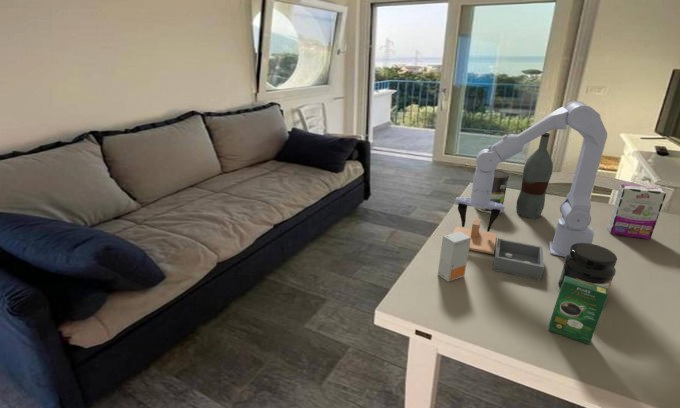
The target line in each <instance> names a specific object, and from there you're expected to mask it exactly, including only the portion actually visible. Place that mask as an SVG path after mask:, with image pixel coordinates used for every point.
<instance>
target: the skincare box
mask: <svg viewBox="0 0 680 408" xmlns="http://www.w3.org/2000/svg"><path fill="white" fill-rule="evenodd" d="M470 241H471V238H470V237H469V236H467V235H465V234H463V233H462V232H457V233H453V232H452V233H450V234H447V235H443V236H442V241H441V247H440V248H441V249H440V256H439V263H438V270H437V275H438V276H439V277H440V278H442V279H444V280H445V281H446V282H448V283H449V282H452V281H455V280H459V279H461V278H464V277H465V274H466V269H467V268H466V267H467V263H468V257H469V252H470V249H469V246H470Z"/></svg>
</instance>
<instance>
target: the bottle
mask: <svg viewBox="0 0 680 408" xmlns="http://www.w3.org/2000/svg"><path fill="white" fill-rule="evenodd" d="M550 135H551V133H549V132H547V133H545V134H543V135H541V136H540V141H539V144H538V148H537V149H536V150H535V151H534V152H533V153H532V154H531V155H530V156H529V157H528V158H527V159H526V162H525V164H524V167H523V171H522V179H521V181H522V182H521V186H520V187H521V189H520V192H519V194H518V197H517V200H516V207H515V208H516V210H515V211H516V213H517V214H518V215H519V216H521V217H524V218H528V219H536V218H539V217H540V216H541V215H542V213H543V210H544V208H545V204H546V203H545V202H546V192H547V189H548V186H549V183H550V180H551V177H552V175H553V168H554V166H553V165H554V164H553V161H552V160H553V159H552V158H551V155H550V153H549V152H548V145H549V140H550Z"/></svg>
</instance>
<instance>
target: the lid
mask: <svg viewBox="0 0 680 408" xmlns="http://www.w3.org/2000/svg"><path fill="white" fill-rule="evenodd" d="M481 221H482V219H481V218H477V217H474V219H473V222H472V225H471V226H472V227H471V228H466V227H462V226H461V227H460V226H455V227H454V230H453V232H452V233H457V232H462V233H463V234H465V235H467V236H469V237H470V238H471V241H470V246H469V251H475V252H480V253H484V254H489V255H495V253H494V252H495V249H496V242H497V241H496V240H497V233H492V232H487V231H483V230H482V231H481V230H480V227H481V223H482V222H481Z"/></svg>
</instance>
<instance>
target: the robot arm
mask: <svg viewBox="0 0 680 408" xmlns="http://www.w3.org/2000/svg"><path fill="white" fill-rule="evenodd" d="M567 126H569V127H570V129H573V130H574V131H577V132H578V133H579V135H581V137H582V138H583V140H582V144H581V147H580V151H579V155H578V158H577V159H578V160H577V163H576V167H575V172H574V175H573V178H572V183H571V186H570V191H569V192H568V193H567V194H566V197H565V200H564V201H562V203H561V204H560V206H559V212H560V214H561V216H560V218H559V219H558V221H557V224H556V225H557V226H556V229H555V232H554V237H553V239H552V240H553V241H549V244H548V245H549V249H550V251H549V253H550V255H554V256H560V257H563V258H565V257H566V256H567V255H569V251H570V248H571V246H572V245H573V244H576V243H589V244H593V241H594V236H595V235H594V234H595V231H594V228H592V227H590V225H591V223H592V216H591V207H592V205H591V195H592V191H593V187H594V185H595V181H596V179H597V178H596V177H597V174H598V170H599V167H600V163H601V160H602V156H603V153H604V150H605V145H606V143H607V138H608V132H607V129H606V127H605V125H604V123H603V120H602V117H601V114H600V113H599V112H597V111H596V110H595V109H594V108H593V107H591V106H590V105H587V104H586V103H584V102H582V101H579V100H574V101H570V102H569V103H566V105H564V106H562V107H558V108H556V110H554V111H552V112H550V113H549V114H548V115H546V116H545V117H543V118H541V119H540V120H539V121H537V122H536V123H534V124H533V125H531V126H530V127H527V128H526V129H525V130H523V131H522V132H520V133H518V134H514V133H509V134H508V135H507V134H504V135H503V136H502V139H500V140H499V141H497V142H495V143H493V144H492V145H491V144H489V145H488V146H487V148H484V149H482V150H480V151H478V153H477V155H476V157H475V159H476V167H475V172H474V173H473V182H472V188H471V194H470V197H460V196H457V197H455V201H454V205H456V206H458V207H457V211H458V213H459V216H460V220H461V228H465V226H466V221H467V219H466V218H467V211H468V207H472V208H475V209H476V208H480V209H482V208H484V209H490V210H491V213H490V214H489V215H490V216H489V221H488V224H487V228H486V229H487V230H486V232H488V233H490V230H491V228H492V226H493V224H494V222H495V221H496V220H497V219H498V218H499V217H500V213H505V208H506V204H505V203H503V204H500V203H496V202H493V201H490V199H491V193H492V187H493V181H494V171H495V170H497V168H498V166H499V164H500V163H503V162H505V161H507V160H509V159H510V158H513V157H514V156H515V155H517V154H519V153H520V152H523V150H524V147H525V145H526V144H528V143H529V142H532V141H533V140H535V139H537V138H539V137H541V135H543V134H545V133H549V132H550V131H552V130H564V131H565V130H566V131H567V130H568V127H567Z"/></svg>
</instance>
